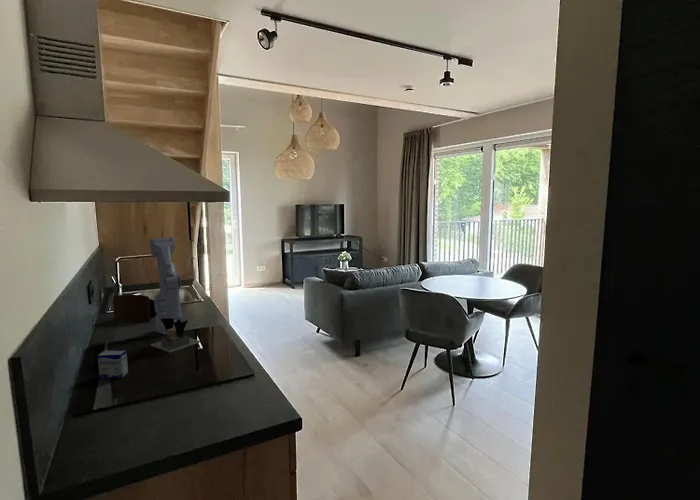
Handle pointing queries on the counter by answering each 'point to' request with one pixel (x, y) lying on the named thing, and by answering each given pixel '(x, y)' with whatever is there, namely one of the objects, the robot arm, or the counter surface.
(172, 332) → the beige rectangular block
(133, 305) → the letter holder
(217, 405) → the counter surface
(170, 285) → the robot arm
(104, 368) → the box
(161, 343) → the socket plate
